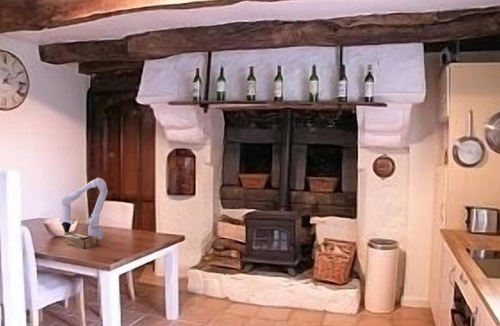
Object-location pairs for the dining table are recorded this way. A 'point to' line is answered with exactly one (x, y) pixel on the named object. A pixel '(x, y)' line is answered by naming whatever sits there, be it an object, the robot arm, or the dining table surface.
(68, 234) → the lid
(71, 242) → the keepsake box
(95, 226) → the robot arm
